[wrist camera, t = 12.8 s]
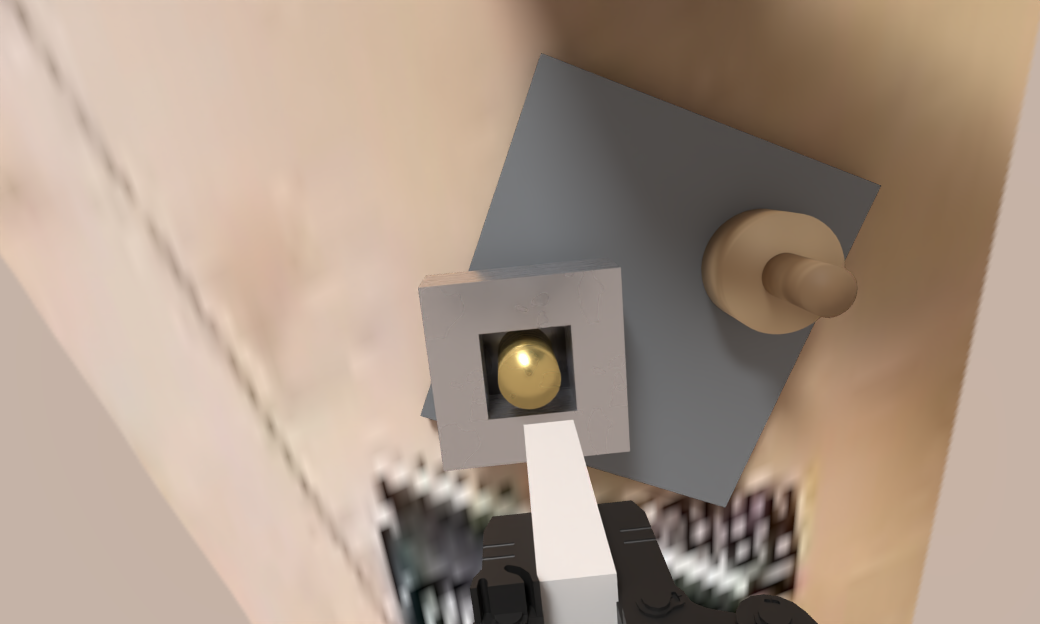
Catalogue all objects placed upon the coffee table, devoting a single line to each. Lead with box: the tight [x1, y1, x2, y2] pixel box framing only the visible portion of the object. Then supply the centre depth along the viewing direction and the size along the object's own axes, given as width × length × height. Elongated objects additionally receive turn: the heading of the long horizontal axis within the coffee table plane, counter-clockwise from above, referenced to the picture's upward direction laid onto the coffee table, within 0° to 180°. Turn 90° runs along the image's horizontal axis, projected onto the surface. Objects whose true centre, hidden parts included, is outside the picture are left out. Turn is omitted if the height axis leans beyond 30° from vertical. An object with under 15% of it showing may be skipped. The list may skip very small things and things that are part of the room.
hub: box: [482, 326, 569, 409], centre depth 28 cm, size 7×7×6 cm
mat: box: [421, 53, 881, 507], centre depth 31 cm, size 20×19×1 cm
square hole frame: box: [418, 258, 630, 471], centre depth 28 cm, size 9×9×3 cm
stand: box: [701, 209, 857, 334], centre depth 27 cm, size 6×6×7 cm
